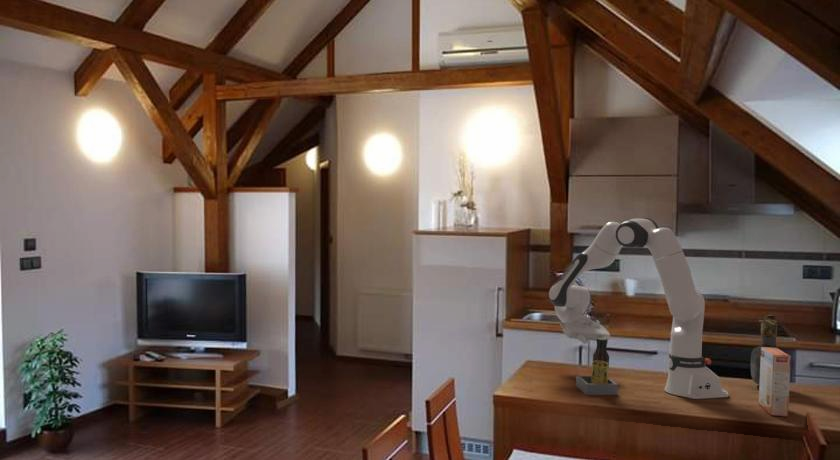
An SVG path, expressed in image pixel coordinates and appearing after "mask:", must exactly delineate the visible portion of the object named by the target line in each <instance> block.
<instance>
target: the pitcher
mask: <svg viewBox="0 0 840 460" xmlns="http://www.w3.org/2000/svg"><path fill="white" fill-rule="evenodd" d="M764 313H765V314H766V316H764V318H761V319H758V321H759V323H760V336H761V345H759V346H757V347H754V348H753V349H752V351H751V355H750V376H751V378H752V381H753V382H754V383H755V384H757V385H756V389H757V390H758V391H759V386H760V361H761V347H769V348H778V347H777V336H778V326H779V324H781V322H782V321H781V320H776V319H778V318H777V317H776V315H773V314H772V313H769V312H768V311H765V312H764ZM778 349H780V350H781V351H783V350H782V349H781V348H778Z"/></svg>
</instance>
